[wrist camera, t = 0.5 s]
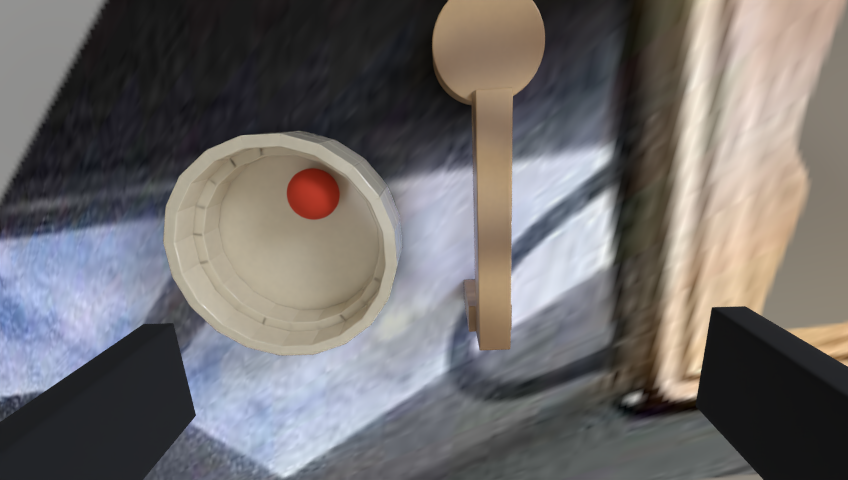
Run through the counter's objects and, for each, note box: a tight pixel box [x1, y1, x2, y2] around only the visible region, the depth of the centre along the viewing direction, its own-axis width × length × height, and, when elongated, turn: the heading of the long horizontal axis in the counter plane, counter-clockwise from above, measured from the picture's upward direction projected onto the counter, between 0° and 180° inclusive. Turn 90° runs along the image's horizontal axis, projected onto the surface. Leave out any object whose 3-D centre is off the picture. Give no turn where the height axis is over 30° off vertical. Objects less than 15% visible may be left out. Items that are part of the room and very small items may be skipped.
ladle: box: [432, 0, 545, 350], centre depth 26 cm, size 22×6×7 cm, turn 3°
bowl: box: [163, 131, 402, 356], centre depth 29 cm, size 16×16×5 cm
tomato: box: [287, 168, 340, 220], centre depth 28 cm, size 4×4×4 cm
